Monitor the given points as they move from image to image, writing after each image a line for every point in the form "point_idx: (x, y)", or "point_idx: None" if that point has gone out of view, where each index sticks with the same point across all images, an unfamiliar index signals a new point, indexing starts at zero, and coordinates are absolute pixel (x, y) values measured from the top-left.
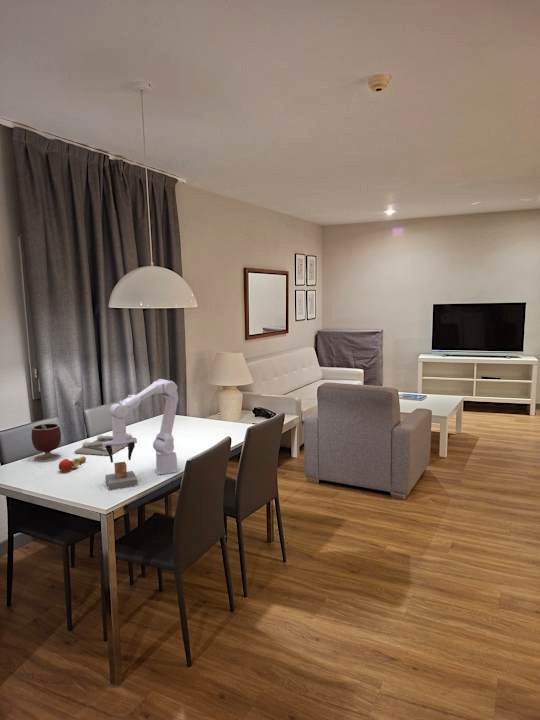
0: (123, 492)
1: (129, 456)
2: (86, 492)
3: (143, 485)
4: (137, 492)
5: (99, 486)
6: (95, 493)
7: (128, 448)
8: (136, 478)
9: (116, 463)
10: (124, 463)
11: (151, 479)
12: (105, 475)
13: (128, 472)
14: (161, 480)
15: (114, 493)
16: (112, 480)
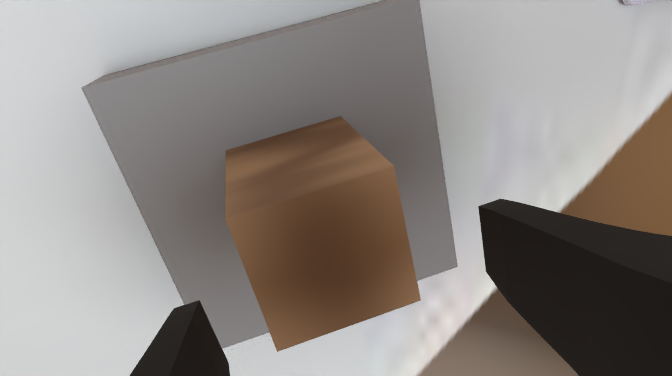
0: (331, 352)
1: (533, 321)
2: (2, 345)
3: (474, 235)
4: (427, 354)
5: (82, 218)
6: (103, 365)
7: (658, 353)
8: (452, 250)
9: (267, 243)
10: (394, 258)
11: (548, 108)
12: (86, 92)
13: (373, 52)
14: (612, 146)
15: (266, 367)
16: (226, 282)
